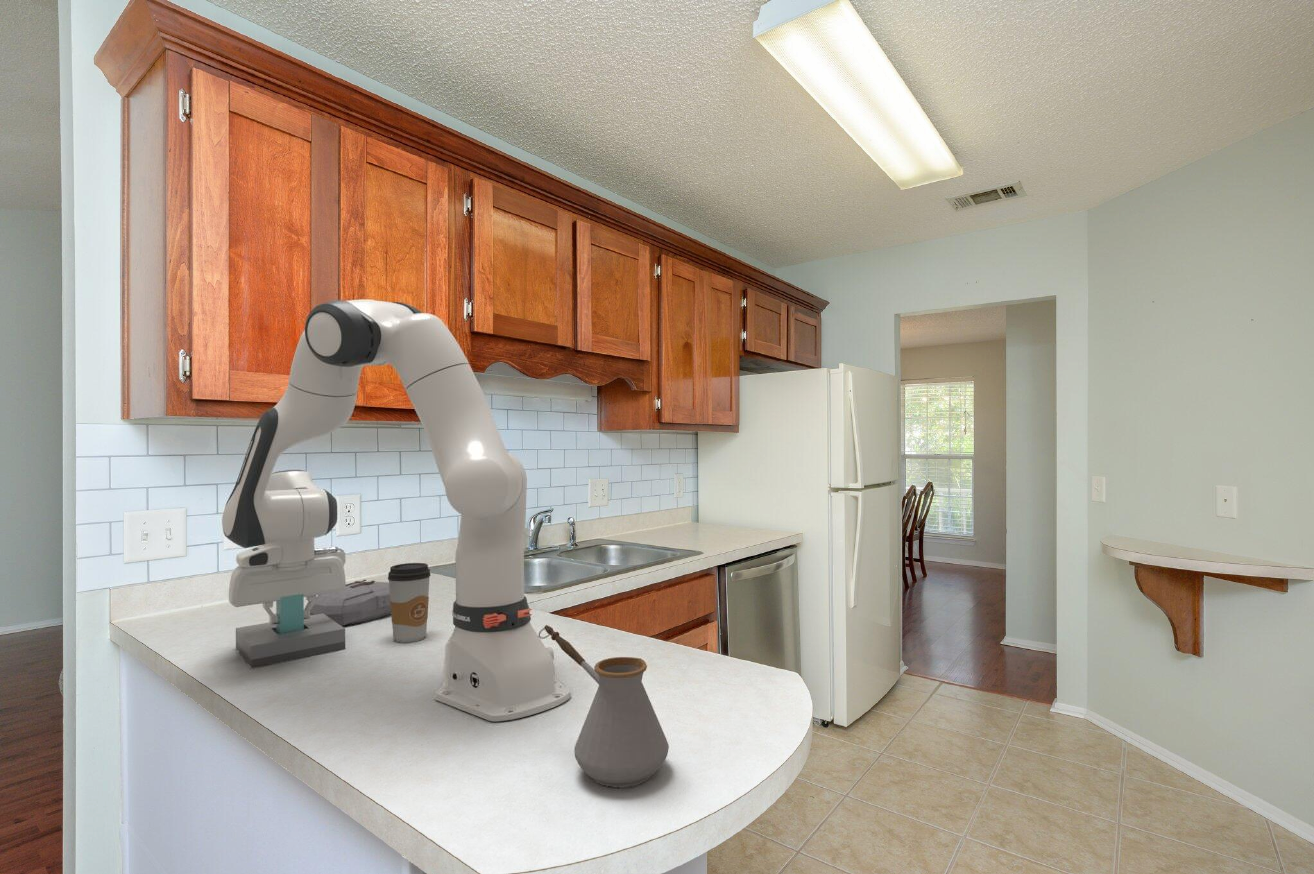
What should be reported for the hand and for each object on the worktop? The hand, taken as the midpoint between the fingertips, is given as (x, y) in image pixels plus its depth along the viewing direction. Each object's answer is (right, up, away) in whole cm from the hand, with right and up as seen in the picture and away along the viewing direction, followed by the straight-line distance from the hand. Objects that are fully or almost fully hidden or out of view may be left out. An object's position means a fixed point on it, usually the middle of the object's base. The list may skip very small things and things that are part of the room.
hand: (290, 621), depth 128 cm
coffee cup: (+22, -5, +6) cm, 23 cm away
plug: (0, -4, 0) cm, 4 cm away
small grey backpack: (+2, -6, +23) cm, 24 cm away
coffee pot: (+65, -4, -46) cm, 80 cm away
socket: (0, -5, 0) cm, 5 cm away
